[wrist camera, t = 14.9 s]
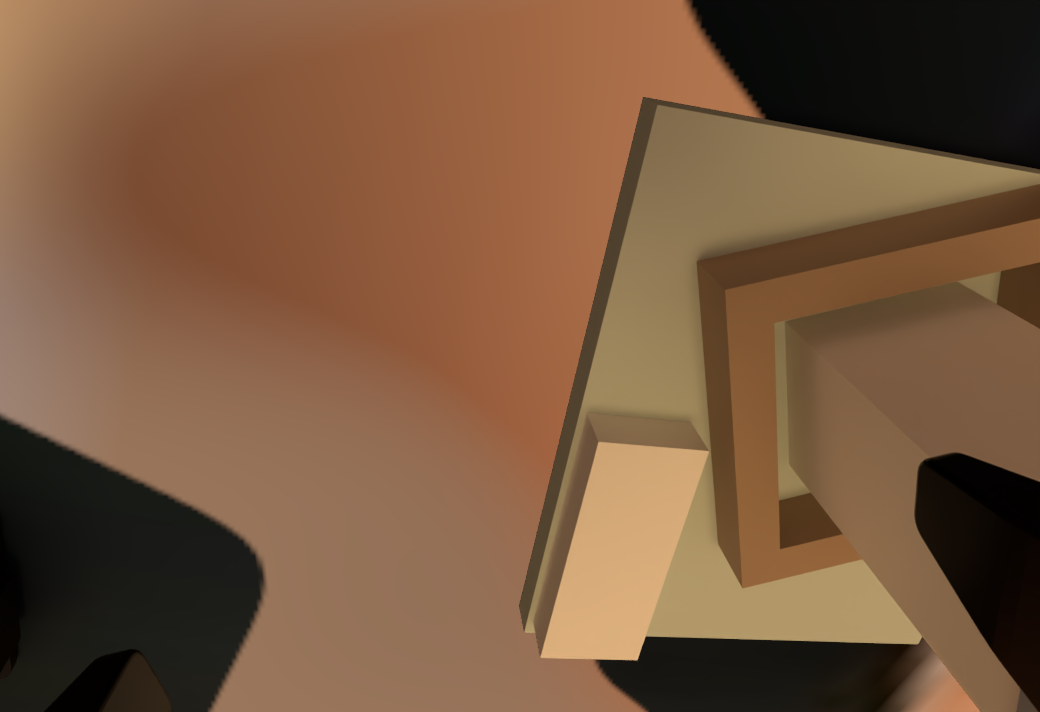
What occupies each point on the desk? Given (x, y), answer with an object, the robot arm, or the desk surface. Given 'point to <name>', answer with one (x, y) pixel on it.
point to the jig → (770, 340)
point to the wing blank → (616, 535)
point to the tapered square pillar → (914, 441)
